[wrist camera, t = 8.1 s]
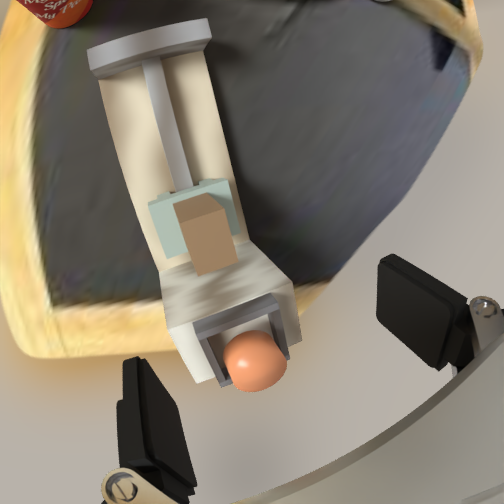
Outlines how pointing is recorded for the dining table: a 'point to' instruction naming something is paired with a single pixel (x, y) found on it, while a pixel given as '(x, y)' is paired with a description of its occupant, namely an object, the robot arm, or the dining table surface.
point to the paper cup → (58, 11)
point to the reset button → (254, 361)
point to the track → (148, 143)
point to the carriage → (198, 224)
